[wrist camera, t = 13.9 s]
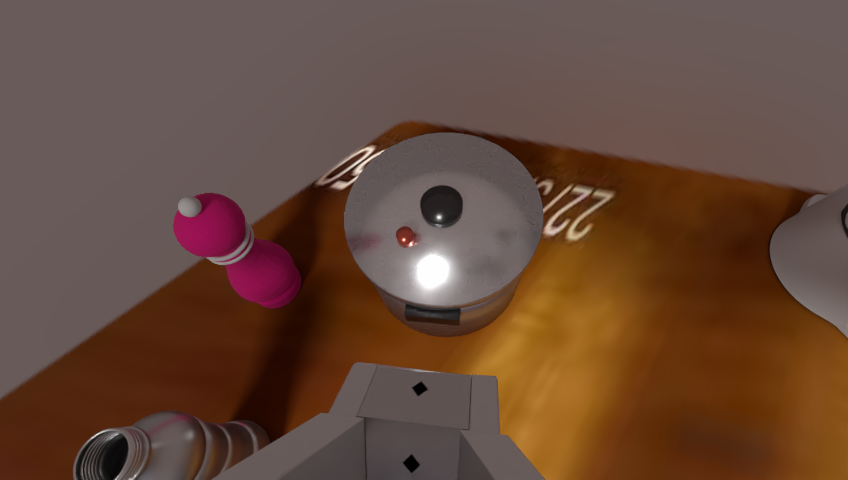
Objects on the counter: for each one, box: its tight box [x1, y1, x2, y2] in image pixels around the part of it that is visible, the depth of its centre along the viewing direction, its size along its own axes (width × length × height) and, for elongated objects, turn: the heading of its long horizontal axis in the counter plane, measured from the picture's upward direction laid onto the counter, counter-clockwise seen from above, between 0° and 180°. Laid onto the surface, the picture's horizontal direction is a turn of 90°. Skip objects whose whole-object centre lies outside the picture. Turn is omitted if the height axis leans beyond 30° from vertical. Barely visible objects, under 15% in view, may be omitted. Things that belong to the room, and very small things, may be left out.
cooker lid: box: [344, 133, 543, 310], centre depth 40 cm, size 19×19×3 cm
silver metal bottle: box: [73, 410, 270, 480], centre depth 35 cm, size 6×7×20 cm
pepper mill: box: [173, 193, 302, 308], centre depth 44 cm, size 7×7×20 cm
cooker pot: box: [375, 134, 521, 337], centre depth 47 cm, size 18×22×12 cm
